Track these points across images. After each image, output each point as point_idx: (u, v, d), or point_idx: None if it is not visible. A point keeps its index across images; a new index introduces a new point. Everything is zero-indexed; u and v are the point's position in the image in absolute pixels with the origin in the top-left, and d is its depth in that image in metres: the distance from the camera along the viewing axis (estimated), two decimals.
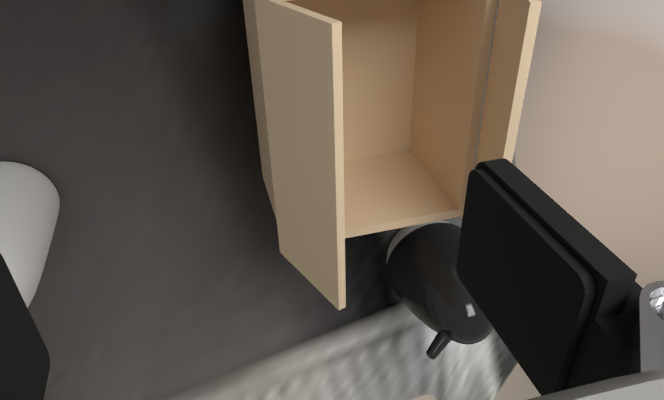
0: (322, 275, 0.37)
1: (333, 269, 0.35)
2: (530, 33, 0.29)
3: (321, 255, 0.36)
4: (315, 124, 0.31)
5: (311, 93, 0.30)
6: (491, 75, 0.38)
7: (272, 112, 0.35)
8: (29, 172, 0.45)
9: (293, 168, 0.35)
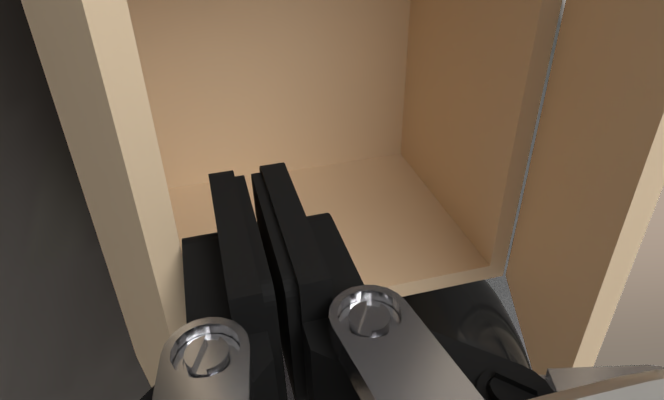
0: None
1: None
2: None
3: None
4: (80, 77, 0.10)
5: None
6: None
7: (43, 58, 0.14)
8: None
9: (98, 200, 0.14)
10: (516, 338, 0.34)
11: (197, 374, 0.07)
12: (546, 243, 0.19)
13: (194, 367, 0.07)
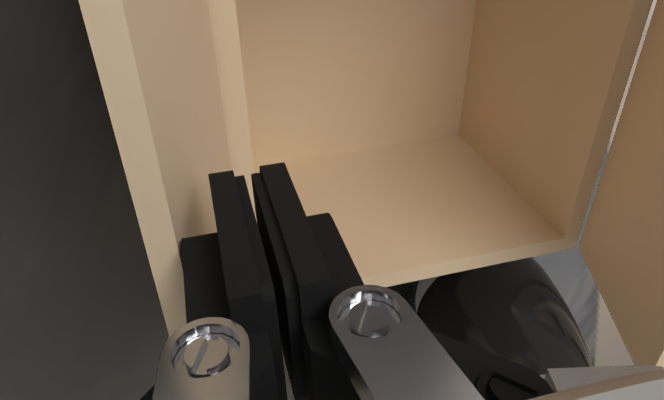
0: None
1: None
2: None
3: None
4: None
5: None
6: None
7: None
8: None
9: None
10: (570, 314, 0.35)
11: (197, 374, 0.07)
12: (638, 211, 0.20)
13: (194, 367, 0.07)
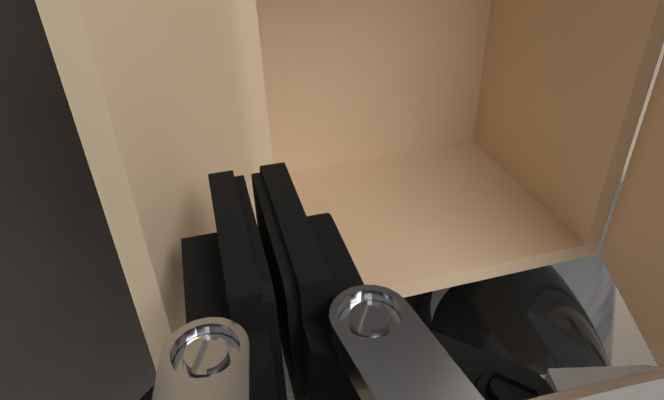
0: None
1: None
2: None
3: None
4: None
5: None
6: None
7: None
8: None
9: None
10: (589, 320, 0.34)
11: (197, 374, 0.07)
12: None
13: (194, 367, 0.07)
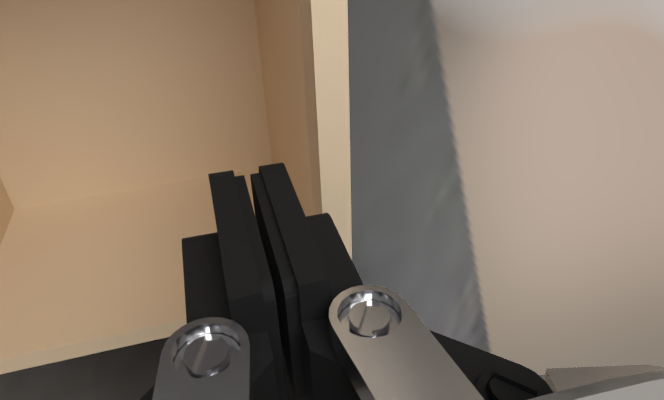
0: None
1: None
2: None
3: None
4: None
5: None
6: None
7: None
8: None
9: None
10: None
11: (197, 374, 0.07)
12: None
13: (194, 367, 0.07)
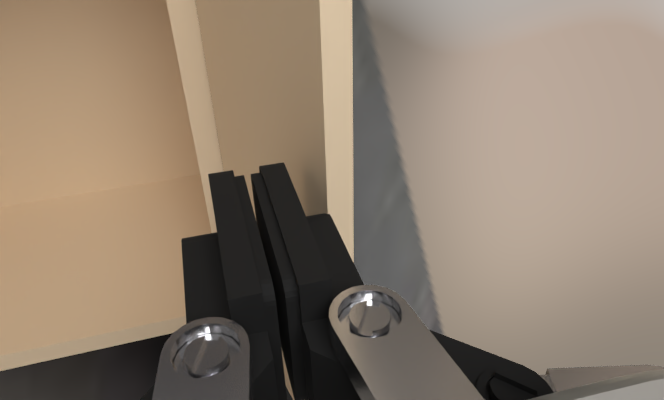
0: None
1: None
2: None
3: None
4: None
5: None
6: (206, 7, 0.14)
7: None
8: None
9: None
10: None
11: (197, 374, 0.07)
12: None
13: (194, 367, 0.07)
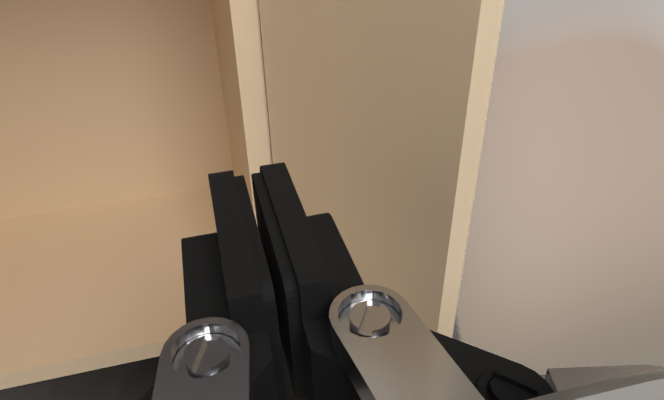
0: None
1: None
2: None
3: None
4: None
5: None
6: (280, 21, 0.14)
7: None
8: None
9: None
10: None
11: (197, 374, 0.07)
12: None
13: (194, 367, 0.07)
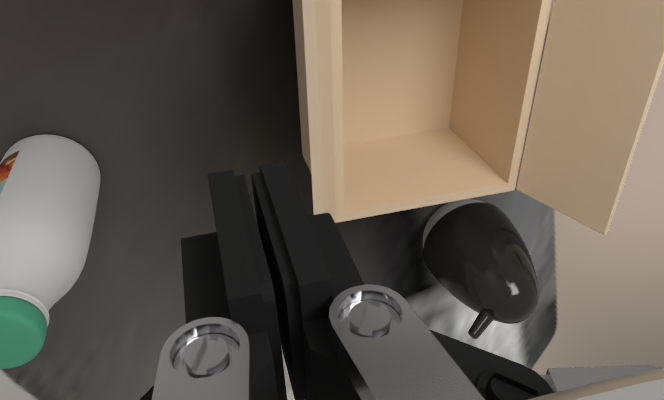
0: None
1: None
2: None
3: None
4: None
5: None
6: (561, 40, 0.37)
7: None
8: (72, 145, 0.44)
9: None
10: (522, 241, 0.54)
11: (197, 374, 0.07)
12: (566, 156, 0.40)
13: (194, 367, 0.07)
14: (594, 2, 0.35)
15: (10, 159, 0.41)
